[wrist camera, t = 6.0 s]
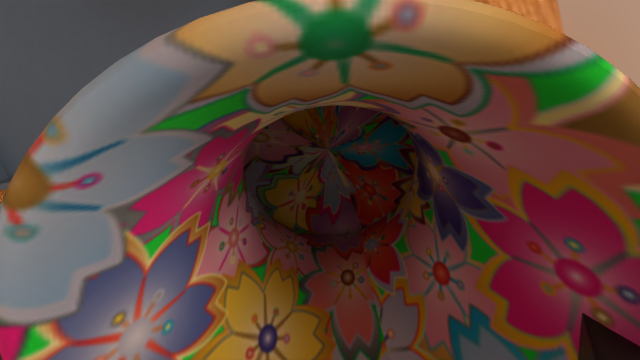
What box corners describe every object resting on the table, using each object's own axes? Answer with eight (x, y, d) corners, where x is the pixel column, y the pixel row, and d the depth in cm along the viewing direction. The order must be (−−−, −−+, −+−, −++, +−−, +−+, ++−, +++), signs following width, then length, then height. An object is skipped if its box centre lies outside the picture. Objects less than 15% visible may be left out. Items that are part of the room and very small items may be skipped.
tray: (257, -93, 24) (251, -104, 22) (297, 142, 30) (296, 149, 28) (-103, -29, 25) (-138, -35, 23) (11, 182, 32) (-9, 191, 30)
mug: (173, 89, 13) (-219, 229, 4) (395, -21, 12) (744, -278, 2) (302, 304, 18) (283, 636, 8) (477, 242, 16) (718, 551, 6)
